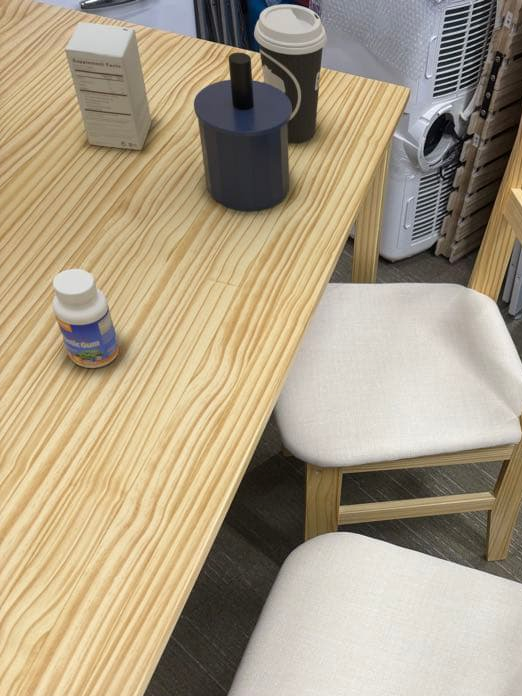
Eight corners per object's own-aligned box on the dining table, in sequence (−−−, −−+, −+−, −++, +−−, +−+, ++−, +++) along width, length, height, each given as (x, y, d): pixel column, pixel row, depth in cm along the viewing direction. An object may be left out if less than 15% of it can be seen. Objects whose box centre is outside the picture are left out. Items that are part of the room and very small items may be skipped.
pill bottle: (61, 364, 85) (34, 293, 77) (80, 331, 88) (56, 259, 80) (109, 373, 85) (88, 303, 77) (127, 340, 88) (108, 269, 80)
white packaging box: (100, 116, 111) (78, 19, 101) (153, 122, 112) (136, 27, 101) (87, 145, 107) (62, 48, 97) (141, 151, 108) (123, 55, 97)
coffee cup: (323, 152, 112) (325, 40, 99) (256, 146, 111) (249, 32, 98) (327, 116, 117) (328, 5, 104) (262, 110, 116) (256, -3, 104)
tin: (204, 209, 102) (194, 131, 93) (209, 161, 108) (200, 83, 99) (289, 213, 104) (287, 136, 95) (289, 164, 109) (287, 88, 101)
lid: (191, 138, 94) (183, 81, 88) (198, 85, 100) (191, 29, 94) (292, 143, 95) (290, 87, 89) (292, 91, 101) (290, 36, 96)
